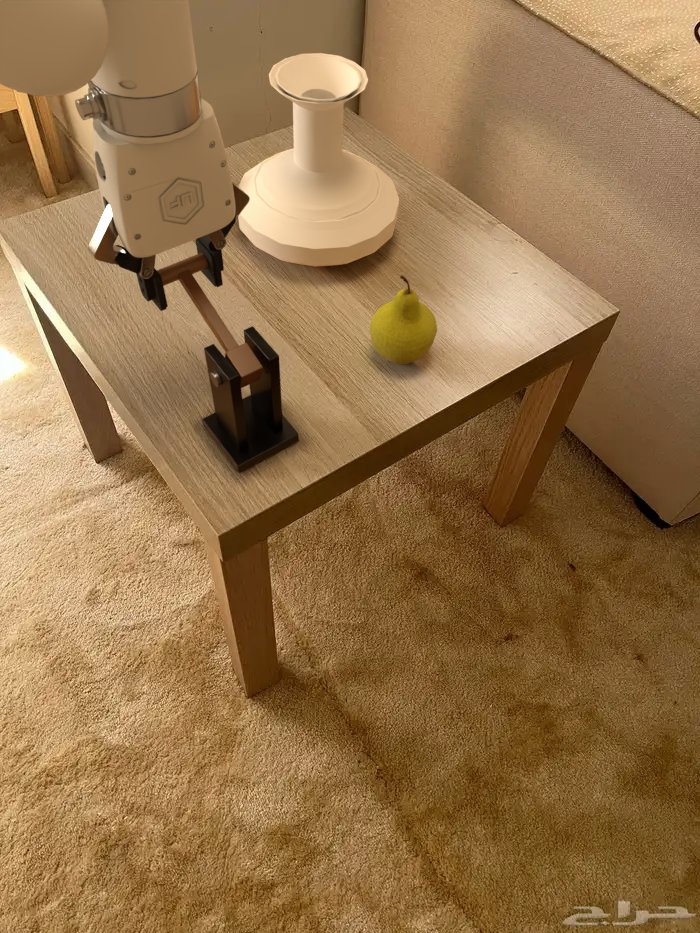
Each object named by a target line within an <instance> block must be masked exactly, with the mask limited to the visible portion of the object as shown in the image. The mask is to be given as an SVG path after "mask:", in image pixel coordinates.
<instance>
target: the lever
mask: <svg viewBox="0 0 700 933" xmlns="http://www.w3.org/2000/svg"><path fill="white" fill-rule="evenodd" d="M206 268H208V261H207V259H206V257H205V255H204V254H203V253H199V254H198V253H197V254H195V255H192V256H190V257H187V258H184V259H182V260H180V261H179V260H178V261H177V262H175V263H172V264H169V265H167V266H164V267H162V268H159V269H156V270H157V272H158V273H159V274H160V275H161V278H162V282H163V287H165V286H167V285H169V284H172V283H174V282H176V281H179V283H180V284H181V286H182V287H183V289H184V290H185V292H186V293H187V295H188V297H189V298H190V300H191V302H192V303H193V305H194V306H195V307H196V309H197V311H198V312H199V314H200V315H201V317H202V318H203V320H204V322H205V323H206V325H207V326H208V328H209V329H210V331H211V332H212V334H213V335H214V337H215V338H216V340H217V341H218V343H219V344H220V346H221V348H222V349H223V350H224V357H225V358H226V359H227V361H228V362H229V363H230V364H231V365H232V367H233V368H234V369H235V370H236V371H237V373H238V374H239V376H240V384H241V389H243V388H245V387H248V386H250V385H249V384H251V383H253V382H255V381H257V380H259V379H260V377H261V373H262V369H263V367H262V365H261V364H260V362H259V360H258V359H257V357H256V356H255V354H254V353H253V351H252V350H251V348H250V347H249V345H248V344H247V343H245V342H244V343H242V344H240V345H239V344H238V342H237V341H236V339H235V338H234V336H233V335H232V333H231V331H230V330H229V328H228V327H227V325H226V324H225V323H224V321H223V319H222V318H221V316H220V314H218V312H217V310H216V309H215V307H214V306H213V304H212V303H211V300H209V298H208V296H207V295H206V294H205V292H204V290H203V288H202V287H201V286H200V284H199V282H198V281H197V279H196V278H195V277H194V274H197V273H199V272H201V270H204V269H206Z"/></svg>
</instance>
